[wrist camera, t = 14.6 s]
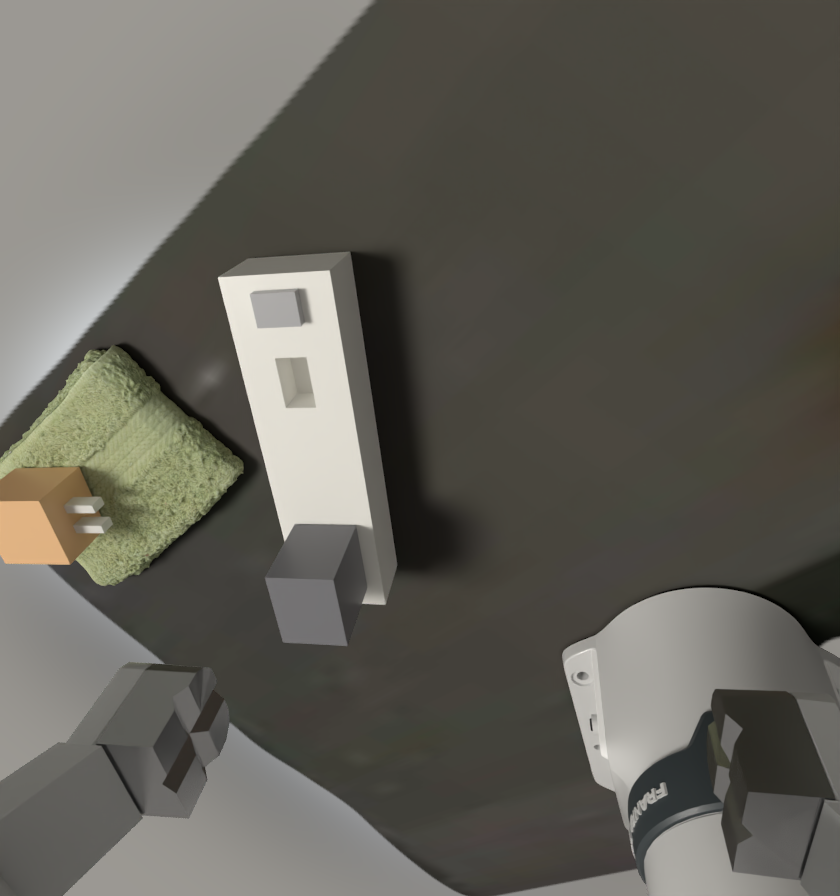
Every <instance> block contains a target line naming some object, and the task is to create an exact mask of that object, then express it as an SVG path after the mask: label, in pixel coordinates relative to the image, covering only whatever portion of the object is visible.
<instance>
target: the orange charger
mask: <svg viewBox="0 0 840 896" xmlns="http://www.w3.org/2000/svg"><path fill="white" fill-rule="evenodd" d="M103 505H104V502H103V500H102V498H101V497H92V495H91V492H90V490H89V488H88V486H87V483H86V481H85V479H84V477H83V474H82V472H81V470H80V468H79V467H53V468H15V469H14V470H13V471H11V472H10V473H9V474H7V475H6V476H5V477H3V478H2V479H1V480H0V555H1V557H2V558H3V560H4V562H5V563H6V564H69V565H70V564H71V563H72V562H73V561H74V560H75V559H76V558H77V557H78V556H79V555H80V554H81V553H82V552H83V551H84V550H85V549H86V548H87V547H88V546H89V545H90V544H91V543H92V542H93V541H94V540H95V538H96V537H97V536H98V535H99V534H100V533H105V532H106V531H107V530H108V529H109V528H110V527H111V526H112V525H113V523H112V520H111V518H110V517H101V515H100V513H99V509H100V508H101V507H102V506H103Z"/></svg>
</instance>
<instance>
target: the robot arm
mask: <svg viewBox="0 0 840 896" xmlns="http://www.w3.org/2000/svg"><path fill="white" fill-rule="evenodd" d="M562 659H563V665H564V670H565V673H566V677H567V681H568V685H569V688H570V692H571V696H572V699H573V703H574V707H575V710H576V714H577V718H578V722H579V725H580V729H581V733H582V736H583V740H584V744H585V748H586V751H587V755H588V759H589V762H590V766H591V770H592V773H593V777H594V779H595V781H596V782H597V783H598V784H600V785H602V786H604V787H606V788H608V789H610V790H612V791H615V792H616V796H617V800H618V804H619V807H620V811H621V815H622V818H623V822H624V825H625V827H626V828H627V830H628V831H629V836H630V842H631V848H632V852H633V855H634V858H635V860H636V865H637V869H638V872H639V874H640V876H641V878H642V880H643V881H644V883H645V884H646V887H647V895H648V896H840V658H838V657H837V656H835V655H833V654H832V653H830V652H828V651H826V650H824V649H822V648H820V647H818V646H817V645H816V644H815V643H814V642H813V641H812V640H811V639H810V638H809V636H808V635H807V633H806V632H805V630H804V629H803V628H802V626H801V625H800V624H799V623H798V621H797V620H796V619H795V618H794V617H792V616H791V615H790V614H789V613H788V612H786V611H785V610H784V609H782V608H781V607H779V606H777V605H776V604H774V603H772V602H770V601H768V600H766V599H763V598H761V597H758V596H755V595H752V594H749V593H745V592H741V591H736V590H730V589H722V588H690V589H682V590H675V591H670V592H666V593H662V594H659V595H656V596H653V597H650V598H648V599H645V600H643V601H641V602H638V603H637V604H635V605H633V606H631V607H629V608H628V609H626V610H625V611H623V612H622V613H621V614H619V615H618V616H617V617H616V618H614V619H613V620H612V621H611V622H610V623H609V624H608V625H607V626H606V627H605V628H604V629H603V630H602V631H600V632H599V633H598V634H596V635H595V636H592V637H589V638H587V639H584V640H582V641H579V642H577V643H575V644H573V645H571V646H569V647H568V648H566V649H565V650H564V652H563V654H562ZM216 683H217V680H216V677H215V675H214V673H213V671H212V669H211V668H205V667H193V666H180V665H166V664H151V663H133V662H129V663H127V664H125V665H124V666H122V667H121V668H120V669H119V670H118V671H117V672H116V674H115V675H114V677H113V678H112V679H111V681H110V682H109V684H108V685H107V686H106V688H105V689H104V691H103V692H102V693H101V695H100V696H99V697H98V699H97V700H96V702H95V703H94V705H93V706H92V708H91V709H90V710H89V711H88V713H87V714H86V716H85V717H84V718H83V720H82V721H81V722H80V724H79V725H78V727H77V728H76V729H75V731H74V732H73V734H72V735H71V736H70V738H69V739H68V741H67V742H66V743H60V742H59V743H57V744H55V745H54V746H52V747H51V748H49V749H48V750H46V751H45V752H43V753H42V754H40V755H39V756H37V757H36V758H34V759H33V760H31V761H30V762H28V763H27V764H25V765H24V766H22V767H21V768H19V769H18V770H16V771H15V772H14V773H12V774H11V775H9V776H8V777H6V778H5V779H3V780H2V781H0V896H63V895H64V894H65V893H66V892H67V891H68V890H69V889H70V888H71V887H72V886H73V885H74V884H75V883H76V882H77V881H78V880H79V879H80V878H81V877H82V876H83V875H84V874H85V873H86V872H88V870H89V869H91V868H92V867H93V866H94V865H95V864H96V863H97V862H98V861H99V860H100V859H101V858H102V857H103V856H104V855H105V854H106V853H107V852H108V851H109V850H110V849H111V848H112V847H114V846H115V845H116V844H117V843H118V842H119V841H120V840H121V839H122V838H123V837H124V836H125V835H126V834H127V833H128V832H129V831H130V830H131V829H132V828H133V827H134V826H135V825H136V824H137V823H138V822H139V821H140V820H141V819H142V816H141V815H146V816H161V817H176V818H177V817H178V818H189V817H190V815H191V813H192V811H193V809H194V807H195V805H196V802H197V800H198V798H199V796H200V794H201V792H202V790H203V788H204V786H205V783H206V782H207V776H206V771H205V766H207V765H208V764H209V763H210V762H212V761H213V760H214V759H215V758H217V757H218V756H219V754H220V752H221V750H222V748H223V745H224V743H225V741H226V737H227V732H228V727H229V711H228V707H227V704H226V702H225V699H224V698H223V697H221V696H220V695H219V694H218V693H216V692H215V691H214V690H213V689H214V687H215V685H216Z"/></svg>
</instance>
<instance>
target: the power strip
mask: <svg viewBox="0 0 840 896" xmlns="http://www.w3.org/2000/svg"><path fill="white" fill-rule="evenodd" d="M218 280H219V284H220V288H221V292H222V296H223V300H224V304H225V307H226V311H227V315H228V319H229V323H230V327H231V331H232V335H233V339H234V343H235V347H236V351H237V355H238V359H239V363H240V367H241V371H242V375H243V379H244V383H245V387H246V390H247V394H248V398H249V402H250V406H251V410H252V414H253V418H254V422H255V426H256V430H257V434H258V438H259V442H260V446H261V450H262V454H263V458H264V462H265V466H266V470H267V474H268V477H269V481H270V485H271V489H272V493H273V497H274V501H275V505H276V509H277V513H278V517H279V521H280V525H281V529H282V533H283V537H284V541H286V539H287V537H288V535H289V533H290V532H291V530H292V528H293V526H294V524H304V525H356V528H357V533H358V539H359V544H360V549H361V555H362V560H363V566H364V571H365V577H366V582H367V591H366V594H365V596H364V599H363V602H362V604H384V605H386V602H387V598H388V595H389V592H390V588H391V585H392V582H393V578H394V575H395V571H396V568H397V559H396V553H395V546H394V539H393V533H392V526H391V519H390V513H389V506H388V499H387V493H386V486H385V479H384V473H383V466H382V459H381V453H380V446H379V439H378V433H377V426H376V419H375V413H374V406H373V399H372V393H371V386H370V379H369V373H368V366H367V359H366V353H365V346H364V339H363V333H362V326H361V319H360V313H359V306H358V299H357V293H356V286H355V279H354V273H353V266H352V259H351V253H350V252H337V253H322V254H307V255H292V256H277V257H263V258H248V259H247V260H245V261H244V262H242V263H240V264H239V265H237V266H235V267H234V268H232V269H231V270H229V271H227V272H226V273H224V274H222V275H221V276H219V277H218Z"/></svg>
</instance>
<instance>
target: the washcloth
mask: <svg viewBox="0 0 840 896" xmlns="http://www.w3.org/2000/svg"><path fill="white" fill-rule="evenodd" d="M66 382H67V384H66V386H64V388H63V389H62V390H61V391H60V390H59V394H58V395H57V397H56V398H55V399H54V400H53V401H52V402H50V403H49V404H48V408H45V411H43V412H42V415H41V416H40V417H39V418H38V419H36V421H35V422H34V424H33V426H31V427H30V430H29V431H27V432H26V433H24V434H23V439H21V440H20V441H19V442H17V443H16V444H12V446H11V447H10V450H7V451H6V452H5V453H4V455H3V457H1V459H0V480H1V479H2V478H3V477H5V476H6V475H7V474H9V473H10V472H11V471H13V470H14V469H15V468H53V467H79V468H80V470H81V472H82V474H83V477H84V479H85V481H86V483H87V486H88V488H89V490H90V492H91V495H92V497H101V498H102V500H103V502H104V505H103V506H102V507H101V508H100V509H99V513H100V515H101V517H110V518H111V520H112V523H113V525H112V526H111V527H110V528H109V529H108V530H107V531H106V532H105V533H100V534H99V535H98V536H97V537H96V538H95V540H94V541H93V542H92V543H91V544H90V545H89V546H88V547H87V548H86V549H85V550H84V551H83V552H82V553H81V554H80V555H79V556H78V557H77V558H76V560H77V561H78V562H79V563H80V564H81V565H82V566H83V567H84V568H85V569H86V570H87V572H88V573H89V575H90V576H91V578H92V579H93V580H94V581H95V582H96V583H97V584H100V585H102V586H106V585H108V584H111V585H116V584H118V583H119V582H122V581H124V579H125V578H127V577H129V576H131V575H133V574H134V575H139V574H140V573H141V572H142V571H143V570H144V569H145V568H147V567H148V568H149V565H150V562H152V560H153V559H154V558H158V556H159V555H160V554H161V553H162V552H163V550H164V549H166V548H168V546H169V545H170V544H172V542H173V541H175V540H176V539H177V538H178V537H179V536H180V535H182V534H183V533H184V532H185V531H187V529H188V528H189V527H190V526H191V525H192V524H194V523H195V522H196V521H199V520H200V519H201V517H202V516H203V515H206V513H208V512H209V510H210V509H211V507H212V506H213V505H214V504H215V503H216V502H217V501H218V500H220V499H221V496H222V495H223V494H224V493H225V492H227V488H228V487H229V486H231V485H232V484H233V483H234V482H235V481H236V480H237V477H238V476H239V475H240V474H243V472H242V471H243V469H244V467H243V461H242V460H240V458H238V457H237V456H235V455H233V454H232V452H231V451H230V449H229V448H226V447H225V446H224V445H223V444H222V443H221V442H220V441H218V440H216V439H215V438H214V437H213V436H212V434H210V433H209V431H208V430H205V429H204V428H203V426H202V424H201V423H200V422H199V421H197V420H196V419H195V418H193V417H188V416H187V415H186V414H185V413H184V412H183V411H182V410H181V409H180V408H179V407H178V406H177V405H176V404H175V403H174V402H173V401H171V400H170V399H168V398H167V397H166V396H165V395H164V394H163V393H162V392H161V391H160V385H159V384H158V383H157V382H155V379H153V378H152V376H146V374H145V371H144V370H143V369H141V368H139V366H138V364H137V363H136V362H135V361H133V360H132V359H131V357H130V355H129V354H127V353H126V352H125V351H124V350H123V349H121V348H119V347H117V346H115V345H113V346H112V347H111V348H110V349H109V350H108V351H105V350H102V351H99V350H90V351H89V352H88V353H87V354H86V356H85V358H84V361H82V362H81V363H78V367H77V369H75V371H74V372H73V374H72V375H69V378H68V380H66Z"/></svg>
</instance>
